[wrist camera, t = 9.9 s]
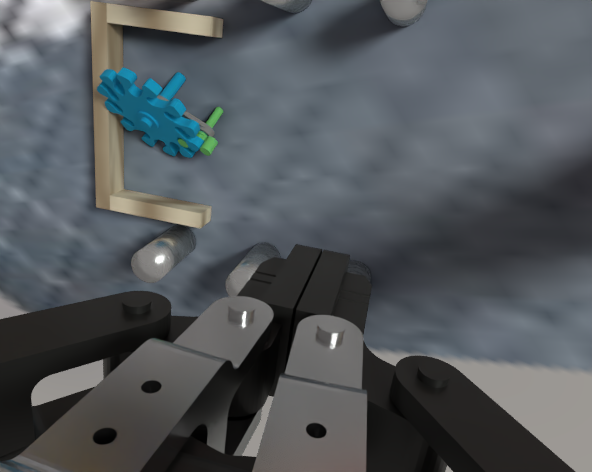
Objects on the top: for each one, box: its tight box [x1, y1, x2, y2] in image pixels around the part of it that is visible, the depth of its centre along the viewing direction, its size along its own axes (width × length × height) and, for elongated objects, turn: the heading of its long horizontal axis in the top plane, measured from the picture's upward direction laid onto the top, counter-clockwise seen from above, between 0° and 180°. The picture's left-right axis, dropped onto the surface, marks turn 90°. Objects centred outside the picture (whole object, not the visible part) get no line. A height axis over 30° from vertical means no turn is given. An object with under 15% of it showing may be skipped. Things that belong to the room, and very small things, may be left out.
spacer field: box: [131, 0, 427, 297], centre depth 41 cm, size 21×27×7 cm
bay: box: [91, 1, 223, 228], centre depth 45 cm, size 11×18×2 cm, turn 173°
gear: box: [97, 67, 223, 158], centre depth 43 cm, size 11×6×10 cm
